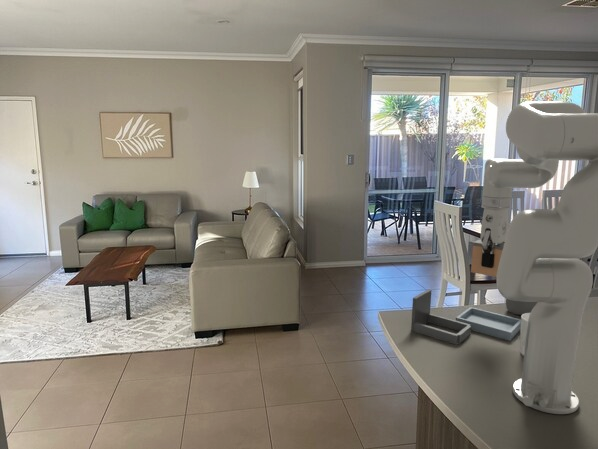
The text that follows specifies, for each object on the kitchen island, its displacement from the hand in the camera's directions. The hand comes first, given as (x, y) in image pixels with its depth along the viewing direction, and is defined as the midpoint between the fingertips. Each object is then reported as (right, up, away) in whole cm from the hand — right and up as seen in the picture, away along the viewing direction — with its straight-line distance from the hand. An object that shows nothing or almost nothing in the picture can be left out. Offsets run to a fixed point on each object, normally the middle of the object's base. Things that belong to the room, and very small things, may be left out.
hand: (490, 264), depth 129 cm
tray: (+1, -19, +4) cm, 19 cm away
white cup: (+6, -23, -13) cm, 27 cm away
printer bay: (-14, -20, 0) cm, 24 cm away
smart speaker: (+16, -17, +15) cm, 28 cm away
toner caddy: (0, -3, +1) cm, 3 cm away
